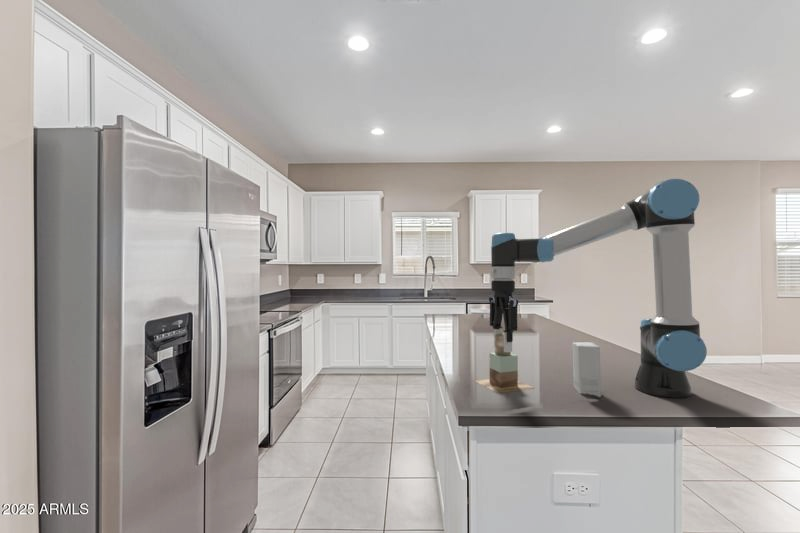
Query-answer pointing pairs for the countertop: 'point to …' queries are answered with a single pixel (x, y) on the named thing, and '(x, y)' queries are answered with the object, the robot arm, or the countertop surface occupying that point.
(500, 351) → the oak cylinder
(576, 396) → the countertop surface
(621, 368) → the countertop surface
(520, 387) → the light wood square board
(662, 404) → the countertop surface
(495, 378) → the walnut base block
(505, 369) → the sage mid block
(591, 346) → the skincare box
